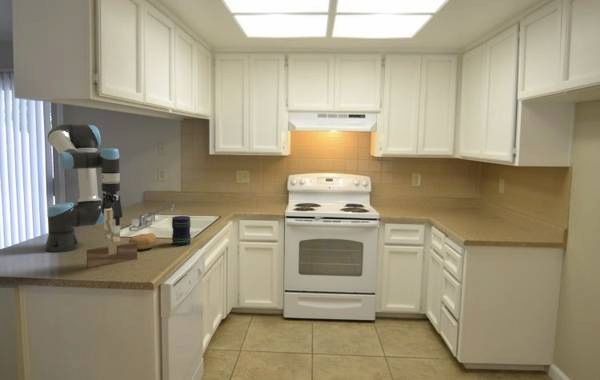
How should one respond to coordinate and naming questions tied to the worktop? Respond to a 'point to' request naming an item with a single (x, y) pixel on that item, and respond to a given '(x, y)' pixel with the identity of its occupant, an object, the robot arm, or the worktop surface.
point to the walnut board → (103, 258)
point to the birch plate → (110, 226)
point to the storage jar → (181, 230)
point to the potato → (144, 240)
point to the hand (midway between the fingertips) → (112, 230)
